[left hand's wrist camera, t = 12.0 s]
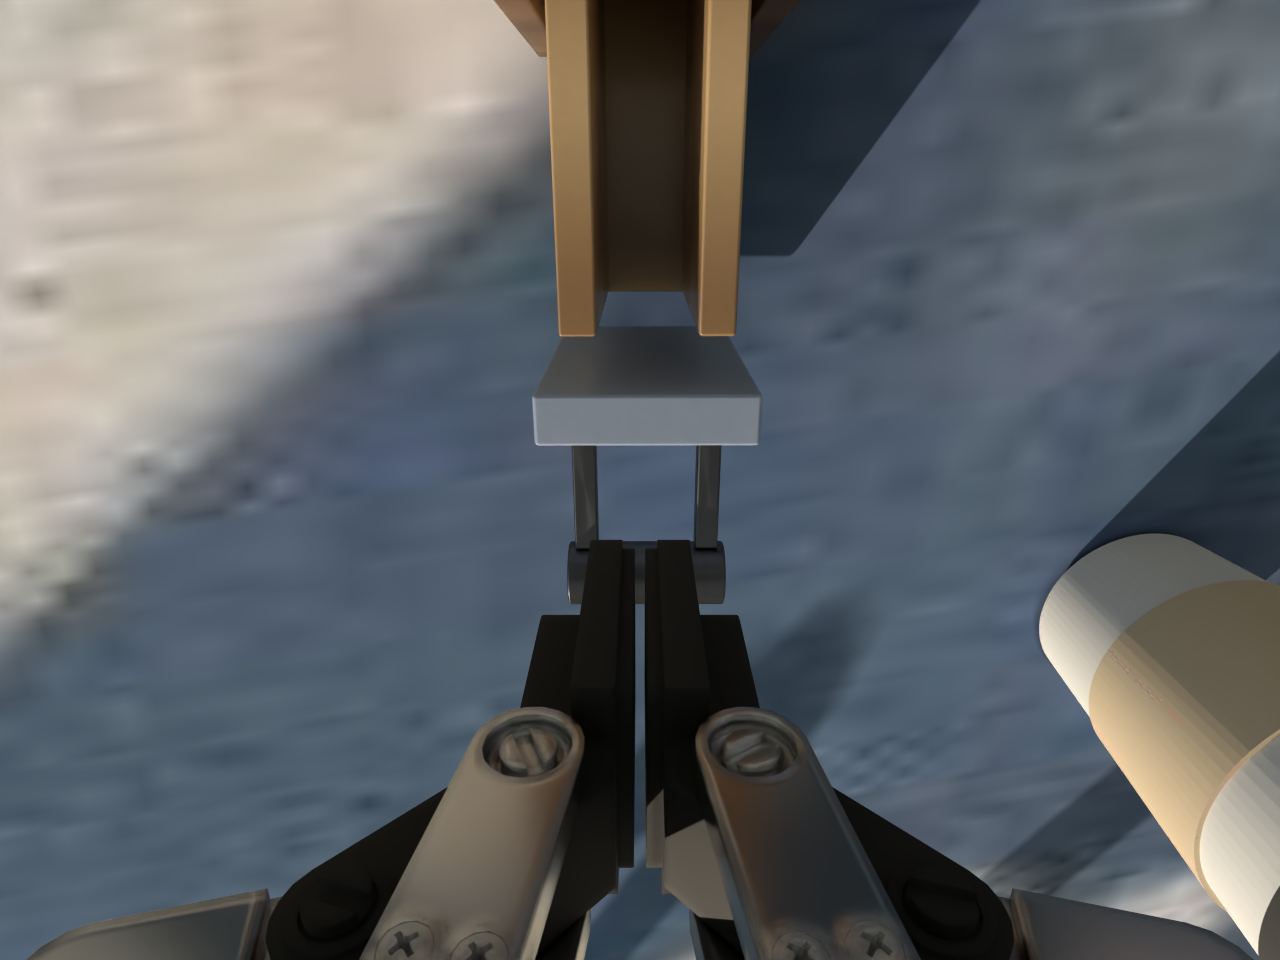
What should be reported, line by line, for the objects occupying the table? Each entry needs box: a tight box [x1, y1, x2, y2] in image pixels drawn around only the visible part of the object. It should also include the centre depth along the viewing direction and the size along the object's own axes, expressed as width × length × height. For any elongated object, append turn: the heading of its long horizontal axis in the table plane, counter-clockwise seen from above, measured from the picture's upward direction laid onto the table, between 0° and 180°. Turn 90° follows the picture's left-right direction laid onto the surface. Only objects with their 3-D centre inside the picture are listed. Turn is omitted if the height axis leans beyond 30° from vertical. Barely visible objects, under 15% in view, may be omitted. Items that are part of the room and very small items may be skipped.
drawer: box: [532, 0, 763, 604], centre depth 18 cm, size 25×5×8 cm, turn 0°
